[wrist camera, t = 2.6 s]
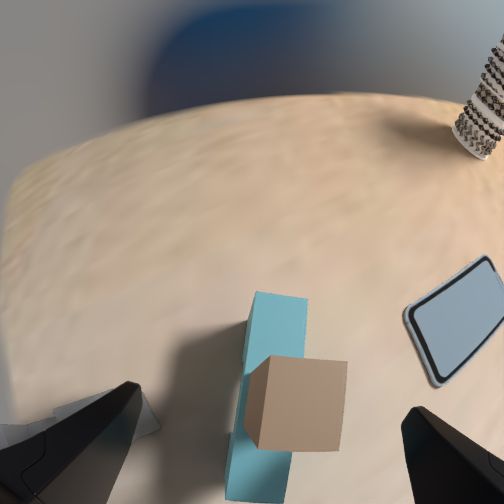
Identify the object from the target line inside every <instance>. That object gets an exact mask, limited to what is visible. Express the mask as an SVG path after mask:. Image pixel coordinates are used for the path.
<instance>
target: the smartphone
mask: <svg viewBox="0 0 504 504" xmlns="http://www.w3.org/2000/svg"><path fill="white" fill-rule="evenodd" d="M404 319H405V323H406V325H407V327H408V329H409V331H410V333H411V335H412V337H413V339H414V342H415V344H416V346H417V349H418V350H419V352H420V354H421V358H422V360H423V362H424V365H425V367H426V369H427V372H428V374H429V377H430V379H431V382H432V383H433V384H434V385H435V386H437V387H440V386H444V385H446V384H447V383H448V382H449V381H450V380H451V379H453V378H454V377H455V376H456V375H457V374H458V373H459V372H460V371H461V370H462V369H463V368H464V367H465V366H466V365H467V364H468V363H469V362H470V361H471V360H472V359H473V358H474V357H475V356H476V355H477V353H478V352H479V351H480V350H481V349H482V348H483V347H484V346H485V345H486V344H487V342H488V341H489V340H490V339H491V338H492V337H493V335H494V334H495V333H496V332H497V331H498V329H499V328H500V327H501V326H502V324H503V323H504V284H503V282H502V280H501V278H500V276H499V274H498V272H497V270H496V268H495V266H494V264H493V262H492V261H491V259H490V257H489V256H488V255H486V254H483V255H482V256H480V257H479V258H478V259H476V260H475V261H473V262H472V263H470V264H469V265H468V266H466V268H464V269H462V270H461V271H460V272H459V273H458V274H456V275H455V276H453V277H452V278H450V279H449V280H448V281H446V282H445V283H443V284H442V285H440V286H439V287H437V288H436V289H434V290H433V291H431V292H430V293H428V294H427V295H425V296H423V297H422V298H420V299H419V300H417V301H416V302H414V303H412V304H411V305H409V306H408V307H407V308H406V310H405V312H404Z"/></svg>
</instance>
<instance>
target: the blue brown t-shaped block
mask: <svg viewBox="0 0 504 504" xmlns="http://www.w3.org/2000/svg"><path fill="white" fill-rule="evenodd" d="M307 306H308V299H304V298H297V297H290V296H283V295H276V294H270V293H263V292H257V291H256V293H255V297H254V300H253V303H252V307H251V310H250V314H249V317H248V321H247V328H246V334H245V341H244V348H243V355H242V362H244V363H243V370H242V377H241V384H240V390H239V397H238V404H237V411H236V417H235V424H234V431H233V433H232V432H231V435H230V442H229V448H228V455H227V461H226V468H225V500H230V501H240V502H252V503H272V504H283V503H284V497H285V492H286V487H287V481H288V475H289V469H290V463H291V457H292V451H293V452H327V451H339V445H340V438H341V430H342V422H343V413H344V402H345V391H346V378H347V361H331V360H317V359H306V358H304V347H305V335H306V321H307Z"/></svg>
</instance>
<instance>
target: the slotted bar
mask: <svg viewBox="0 0 504 504" xmlns="http://www.w3.org/2000/svg"><path fill="white" fill-rule="evenodd" d="M112 390H113V389H110V390H107V391H105V392H102V393H99V394H96V395H94V396H91V397H88V398H85V399H83V400H80V401H77V402H74V403H71V404H68V405H65V406H62V407H59V408H56V409H53V412H54V414H55V417H52V418H49V419H46V420H42V421H39V422H35V423H31V424H28V425H7V424H0V450H1V449H4V448H7V447H9V446H12V445H14V444H17V443H19V442H22V441H24V440H26V439H28V438H30V437H32V436H34V435H36V434H38V433H40V432H41V431H43V430H44V431H45V429H47V428H49V427H51V426H52V425H54V424H56V423H58V422H59V421H61V420H63V419H65V418H66V417H68V416H70V415H72V414H73V413H75V412H77V411H78V410H80V409H82V408H83V407H85V406H87V405H89V404H90V403H92V402H94V401H95V400H97V399H99V398H100V397H102V396H103V395H105V394H107V393H108V392H110V391H112ZM142 400H143V405H142V409H141V413H140V416H139V419H138V423H137V426H136V429H135V433H134V436H133V440H136V439H138V438H140V437H143V436H145V435H147V434H149V433H152V432H154V431H156V430H158V429H160V428H161V427H160V426H159V424H158V422H157V420H156V418H155V416H154V414H153V412H152V410H151V408H150V406H149V404H148V402H147V400H146V398H145V396H144V394H143V392H142ZM133 440H132V441H133Z"/></svg>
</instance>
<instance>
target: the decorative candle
mask: <svg viewBox="0 0 504 504" xmlns="http://www.w3.org/2000/svg"><path fill="white" fill-rule="evenodd" d="M496 48H497V49H496ZM496 48H492V49H491V51H492V52H493V54H494V55H495V57H494V58H492V57H489V58H488V61H489V62H490V64H491V65H490V64H486V65H485V68H486V70H487V73H482V75H481V77H482V78H480V81H481V83H480V85H479V87H478V89H477V91H476V92H475V93H474V94H473V96H472V98H471V100H468V101H467V103H468V106H465V107H464V108H463V109H464V112H465V113H461V114H459V119H458V120H456V121H455V126H453V127H452V132H453V134H454V136H455V137H456V138H457V140H458V141H459V142H460V143H461V144H462V145H463V146H464V147H465V148H466V149H467V150H468V151H469V152H470V153H472V154H473V155H474V156H475V157H477V158H479V159H481V160H486V159H487V157H488V156H487V155H490V154H491V152H492V149H495V147H496V141H500V140H501V137H500V135H504V35H503V37H502V40H501V42H499V43H498V46H497V47H496Z"/></svg>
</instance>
